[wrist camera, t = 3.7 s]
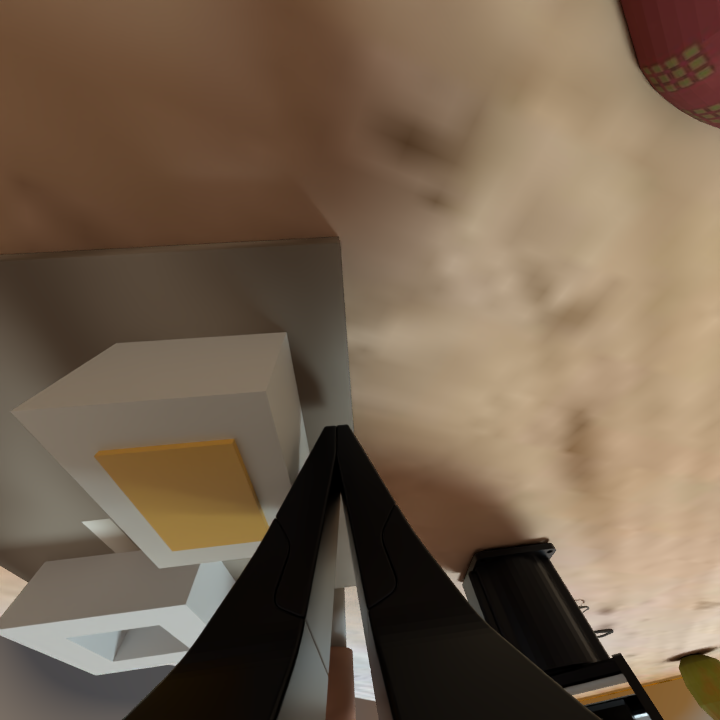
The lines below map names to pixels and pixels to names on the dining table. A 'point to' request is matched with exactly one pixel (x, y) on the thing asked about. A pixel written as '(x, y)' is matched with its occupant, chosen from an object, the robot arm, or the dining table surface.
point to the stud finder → (180, 440)
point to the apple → (703, 681)
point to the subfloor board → (151, 323)
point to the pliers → (679, 52)
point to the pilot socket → (115, 610)
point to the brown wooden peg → (340, 666)
